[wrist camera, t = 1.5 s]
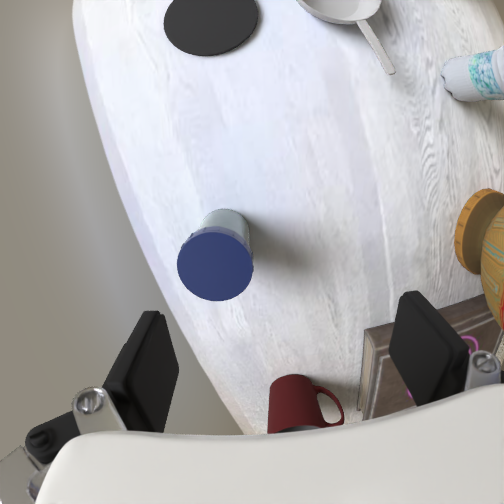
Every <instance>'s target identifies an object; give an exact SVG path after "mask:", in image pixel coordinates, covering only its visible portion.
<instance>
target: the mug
mask: <svg viewBox="0 0 504 504" xmlns="http://www.w3.org/2000/svg"><path fill="white" fill-rule="evenodd" d="M318 393H324V394H326V395H328V396H329V397H330V398H331V399H332V400H333V401H334V402H335V403H336V405H337V406H338V408H339V411H340V413H341V419H340V421H338V422H337V423H332V424H331V423H327V422H326V421H325V420H324V418H323V415H322V412H321V409H320V406H319V403H318V399H317V394H318ZM343 424H344V412H343V409H342V406H341V404H340V402H339V400H338V399H337V398H336V396H335V395H334V394H333V393H332V392H330V391H329V390H328V389H326V388H324V387H321V386H315V385H313V384H312V382H311V380H310V379H309V378H307V377H305V376H302V375H286V376H283V377H280V378H278V379H277V380H275V381H274V382H273V383H272V385H271V387H270V394H269V410H268V431H267V434H275V433H287V432H297V431H306V430H313V429H321V428H327V427H334V426H340V425H343Z"/></svg>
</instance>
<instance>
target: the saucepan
mask: <svg viewBox="0 0 504 504" xmlns="http://www.w3.org/2000/svg"><path fill="white" fill-rule="evenodd" d="M296 1H297V2H298V3H299V4H300V6H301V7H303V8H304V9H305V10H306V11H307V12H309V13H310V14H312V15H313V16H315V17H317V18H319V19H322V20H324V21H327V22H331V23H337V24H355V23H357V24H358V26H359V28H360V29H361V31H362V32H363V34H364V35H365V37H366V39H367V40H368V42H369V43H370V45H371V47H372V49H373V50H374V52H375V54H376V55H377V57H378V59H379V61H380V63H381V64H382V66H383V68H384V70H385V72H386V73H387V74H388V75H393V74H395V73H396V71H395V68H394V66H393V65H392V63H391V61H390V59H389V57H388V55H387V54H386V52H385V50H384V48H383V47H382V45H381V43H380V42H379V40H378V38H377V37H376V35H375V33H374V32H373V30H372V29H371V27H370V26H369V24H368V23H367V21H366V19H368V18H369V17H371V16H372V15H374V14H375V13H376V12H377V11H378V9H379V7H380V4H381V0H296Z"/></svg>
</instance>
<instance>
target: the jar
mask: <svg viewBox="0 0 504 504" xmlns="http://www.w3.org/2000/svg"><path fill="white" fill-rule="evenodd" d="M211 226H221V227H224V228H228V229H230V230H233V231H235V232H236V233H238V234H239V235H240V236H241V237H242V238H244V240H246V242H247V244H248V245H249V227H248V224H247V222H246V220H245V219H244V218H243V217H242V216H241V215H240V214H239V213H237V212H235V211H233V210H230V209H218V210H215V211H213V212H211V213H209V214H208V215H207V216H206V217H205V218H204V220H203V221H202V223H201V225H200V227H199V228H198V230H200V229H202V228H204V227H211ZM198 230H197V231H198Z"/></svg>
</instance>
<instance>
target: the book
mask: <svg viewBox="0 0 504 504" xmlns="http://www.w3.org/2000/svg"><path fill="white" fill-rule="evenodd" d="M437 311H438V312H439V313H440V314H441V315H442V316H443V318H444V319H445V320H446V321H447V322H448V323H449V324H450V325H451V326H452V328H453V329H454V330H455V331H456V332H457V333H458V334H459V336H460V337H461V338H462V339H463V340H464V341H465V342H466V344H467V345H468V346H469V347H470V349H469V351H468V353H469V354H470V355H471V354H472V353H473V352H475V351H479V350H483V351H488V352H490V353H492V354H494V355H495V354H496V352H497V350H498V347H499V345H500V342H501V340H502V337H503V334H504V331H503V330H502V328H501V327H500V326H499V324H498V323H497V321H496V320H495V318H494V316H493V314H492V313H491V311H490V309H489V307H488V305H487V301H486V298H485V294H482V295H480V296H477V297H474V298H471V299H469V300H466V301H463V302H460V303H457V304H454V305H451V306H448V307H445V308H442V309H438V310H437ZM394 323H395V322H393V323H389V324H385V325H381V326H377V327H373V328H369V329H365V330H364V344H363V357H362V368H361V378H360V387H359V396H358V403H357V411H360V410H361V411H362V413H363V420H362V421H365V420H370V419H374V418H379V417H383V416H387V415H391V414H395V413H398V412H402V411H406V410H409V409H412V408H416V407H417V406H416V404H415V402H414V400H413V398H412V396H411V394H410V392H409V390H408V388H407V386H406V385H405V383H404V381H403V379H402V377H401V375H400V373H399V372H398V370H397V368H396V366H395V364H394V363H393V361H392V359H391V357H390V355H389V351H388V349H389V344H390V340H391V336H392V332H393V327H394Z"/></svg>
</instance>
